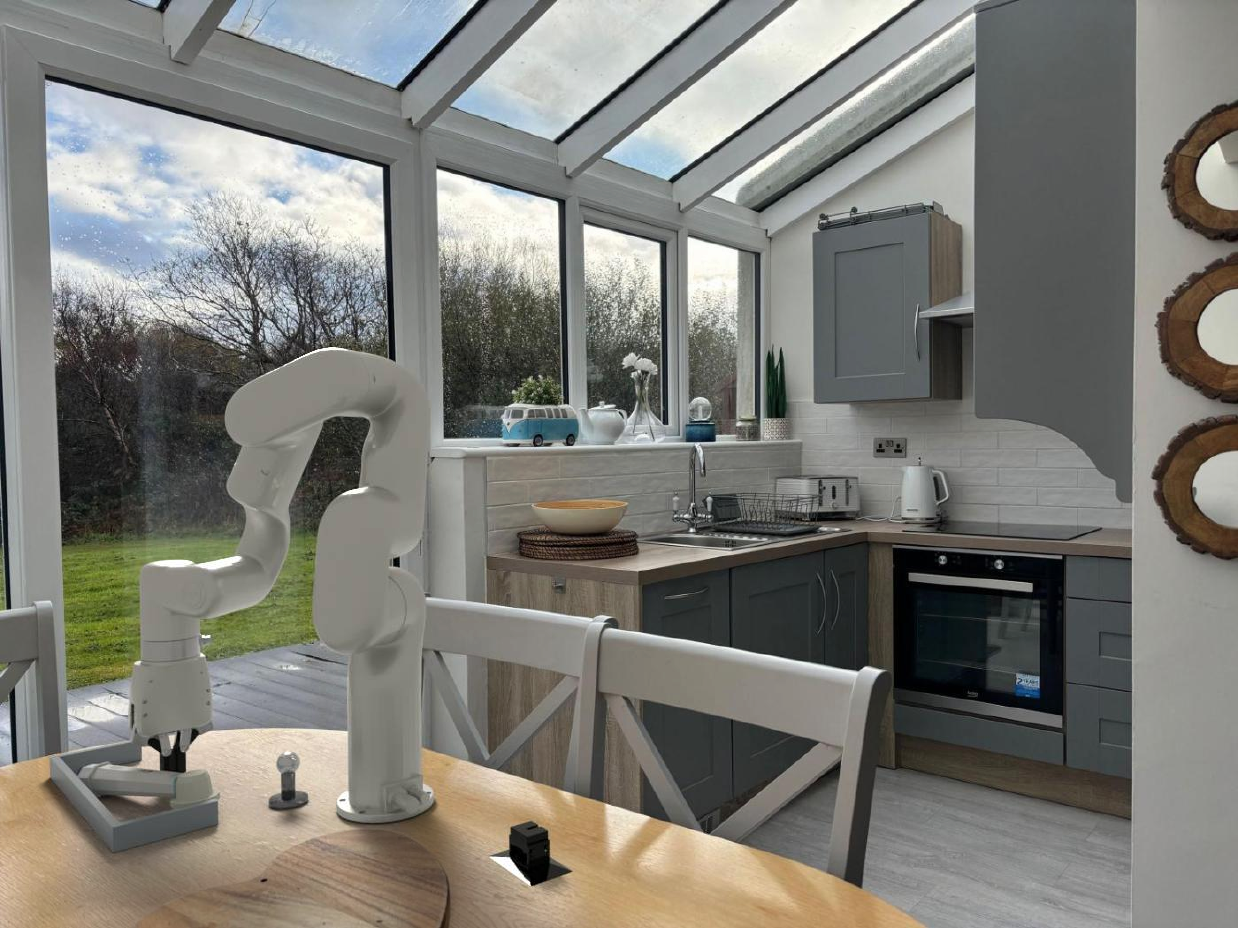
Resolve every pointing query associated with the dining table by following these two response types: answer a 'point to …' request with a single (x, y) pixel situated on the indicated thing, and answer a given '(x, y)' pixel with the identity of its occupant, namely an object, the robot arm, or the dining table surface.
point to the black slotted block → (530, 855)
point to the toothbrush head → (148, 783)
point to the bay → (105, 821)
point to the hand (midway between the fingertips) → (173, 779)
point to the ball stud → (288, 784)
